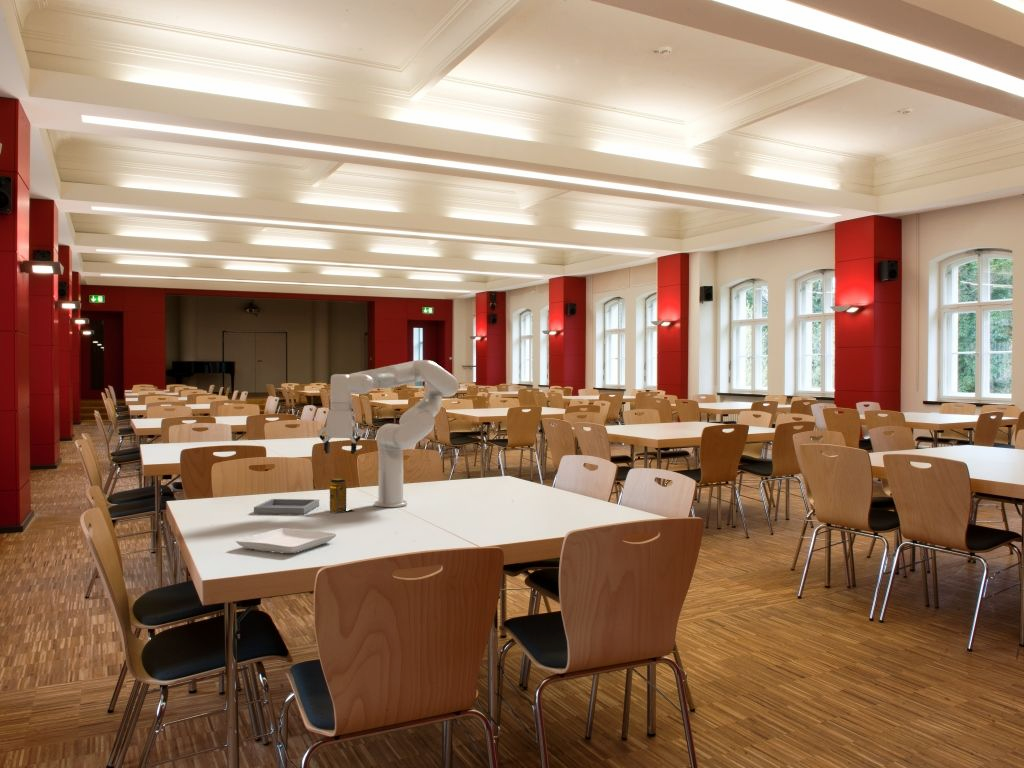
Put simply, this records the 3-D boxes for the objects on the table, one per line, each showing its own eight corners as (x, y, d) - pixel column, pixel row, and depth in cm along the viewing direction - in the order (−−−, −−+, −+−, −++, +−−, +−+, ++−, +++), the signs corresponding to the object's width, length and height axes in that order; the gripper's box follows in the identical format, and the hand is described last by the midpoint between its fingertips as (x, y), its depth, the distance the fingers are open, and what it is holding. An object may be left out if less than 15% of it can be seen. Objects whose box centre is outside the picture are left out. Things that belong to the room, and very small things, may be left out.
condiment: (325, 510, 286) (325, 478, 286) (346, 508, 291) (346, 476, 291) (333, 513, 280) (333, 480, 280) (355, 511, 285) (355, 479, 285)
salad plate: (281, 537, 242) (281, 526, 242) (338, 543, 234) (338, 532, 234) (233, 551, 222) (233, 539, 222) (293, 559, 214) (293, 546, 214)
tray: (272, 505, 296) (272, 498, 296) (319, 506, 296) (319, 499, 296) (253, 514, 278) (253, 507, 278) (303, 514, 277) (303, 508, 277)
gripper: (366, 407, 288) (365, 452, 289) (320, 406, 289) (320, 452, 290) (361, 408, 281) (360, 455, 281) (314, 407, 282) (314, 454, 282)
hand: (340, 453), depth 285 cm, fingers open, 9 cm apart
